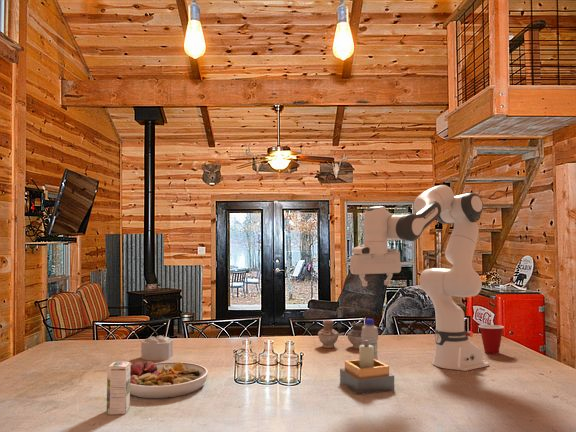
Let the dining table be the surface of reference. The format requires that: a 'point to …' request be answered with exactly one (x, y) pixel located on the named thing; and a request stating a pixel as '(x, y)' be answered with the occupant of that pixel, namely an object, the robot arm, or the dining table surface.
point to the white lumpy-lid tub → (157, 348)
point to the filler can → (366, 355)
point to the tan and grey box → (366, 377)
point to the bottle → (370, 335)
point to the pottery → (331, 335)
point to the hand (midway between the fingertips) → (375, 285)
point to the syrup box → (118, 388)
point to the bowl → (165, 379)
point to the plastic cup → (491, 337)
